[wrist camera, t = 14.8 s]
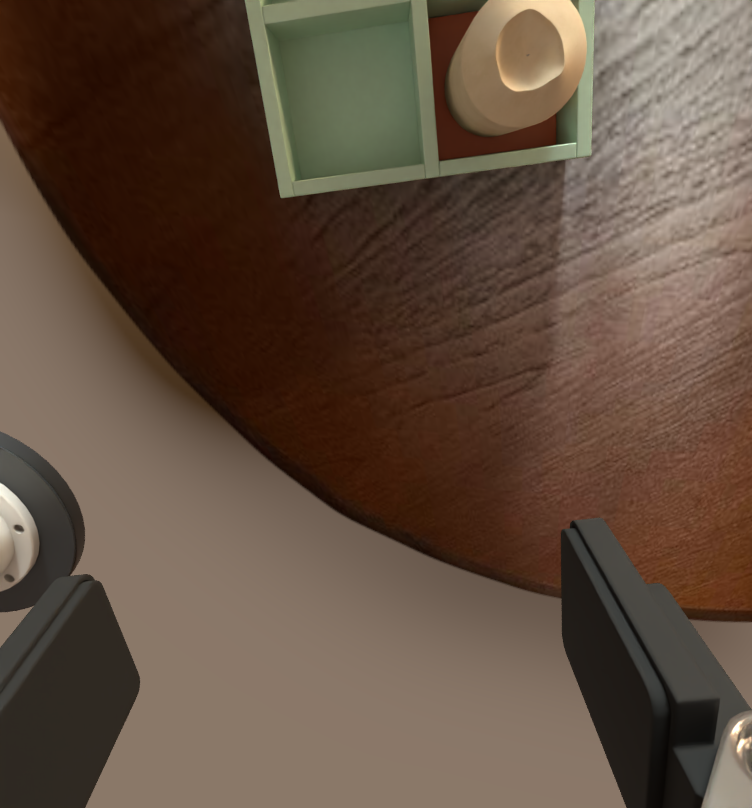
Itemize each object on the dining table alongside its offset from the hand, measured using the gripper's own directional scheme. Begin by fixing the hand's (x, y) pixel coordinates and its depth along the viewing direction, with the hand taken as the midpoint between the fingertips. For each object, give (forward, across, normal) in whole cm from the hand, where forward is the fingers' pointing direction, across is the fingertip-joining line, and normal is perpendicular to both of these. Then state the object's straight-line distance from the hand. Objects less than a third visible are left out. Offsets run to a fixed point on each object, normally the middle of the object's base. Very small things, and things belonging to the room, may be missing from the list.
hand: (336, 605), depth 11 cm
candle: (+28, -9, -12) cm, 32 cm away
